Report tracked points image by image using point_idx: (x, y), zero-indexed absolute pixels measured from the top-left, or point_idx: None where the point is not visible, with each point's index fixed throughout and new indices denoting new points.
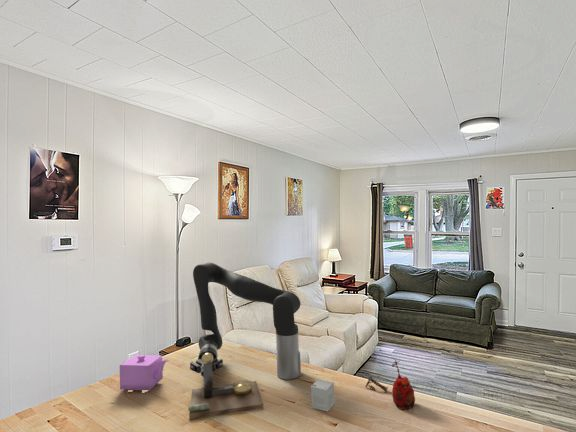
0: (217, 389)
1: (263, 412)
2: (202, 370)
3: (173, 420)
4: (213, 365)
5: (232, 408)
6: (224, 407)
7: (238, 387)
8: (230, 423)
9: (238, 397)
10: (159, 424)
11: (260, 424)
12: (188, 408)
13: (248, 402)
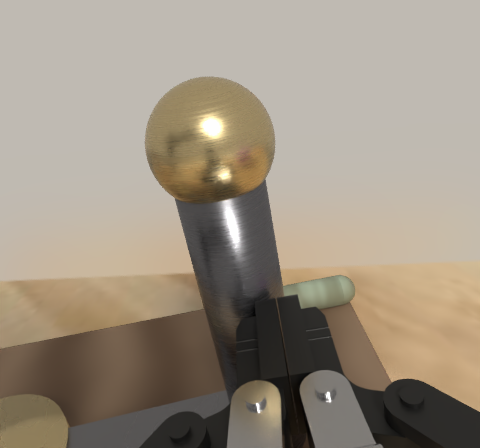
0: (192, 408)
1: (11, 344)
2: (314, 332)
3: (420, 295)
4: (175, 415)
5: (134, 323)
6: (171, 328)
7: (32, 412)
8: (163, 288)
9: (68, 415)
10: (472, 274)
11: (63, 288)
12: (351, 281)
13: (40, 364)
